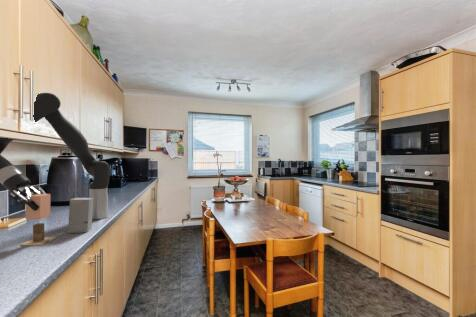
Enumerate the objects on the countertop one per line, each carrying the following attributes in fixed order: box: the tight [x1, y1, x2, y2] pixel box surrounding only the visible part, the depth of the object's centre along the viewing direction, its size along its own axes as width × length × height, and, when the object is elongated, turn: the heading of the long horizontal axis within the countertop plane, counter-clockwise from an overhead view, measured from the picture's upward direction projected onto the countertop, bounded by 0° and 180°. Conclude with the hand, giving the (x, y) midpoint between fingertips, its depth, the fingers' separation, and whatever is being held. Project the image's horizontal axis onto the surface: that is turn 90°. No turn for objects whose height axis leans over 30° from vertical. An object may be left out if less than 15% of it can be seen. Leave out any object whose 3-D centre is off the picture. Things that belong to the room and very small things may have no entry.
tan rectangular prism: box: [25, 193, 51, 220], centre depth 97 cm, size 6×6×10 cm
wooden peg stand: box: [20, 222, 56, 247], centre depth 98 cm, size 8×8×8 cm
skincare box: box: [67, 197, 93, 234], centre depth 112 cm, size 8×7×16 cm
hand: (43, 207), depth 98 cm, fingers closed on tan rectangular prism, 5 cm apart
